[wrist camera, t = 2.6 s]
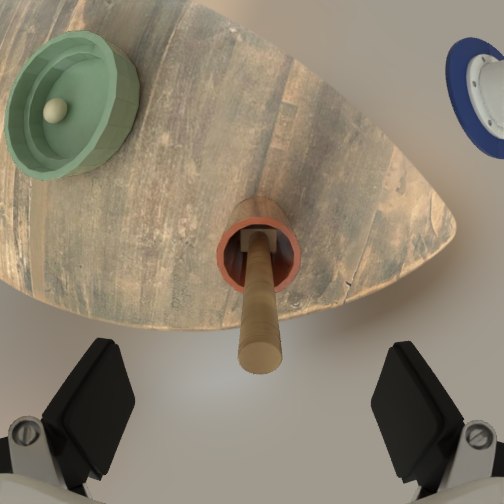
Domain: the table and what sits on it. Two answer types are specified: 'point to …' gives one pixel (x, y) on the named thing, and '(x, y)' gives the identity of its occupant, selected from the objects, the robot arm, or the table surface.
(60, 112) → the bead
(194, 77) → the table surface
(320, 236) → the table surface
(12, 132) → the bowl
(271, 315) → the wooden masher
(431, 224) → the table surface
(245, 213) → the utensil cup
